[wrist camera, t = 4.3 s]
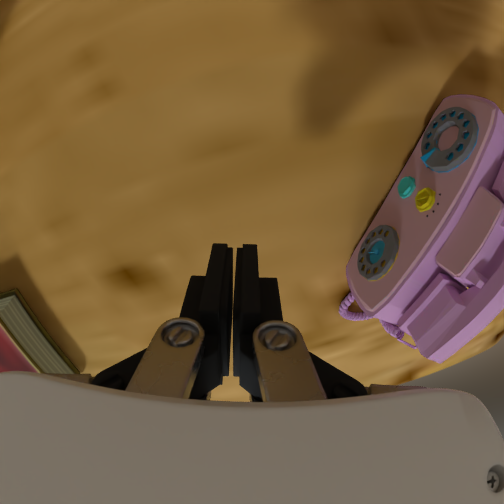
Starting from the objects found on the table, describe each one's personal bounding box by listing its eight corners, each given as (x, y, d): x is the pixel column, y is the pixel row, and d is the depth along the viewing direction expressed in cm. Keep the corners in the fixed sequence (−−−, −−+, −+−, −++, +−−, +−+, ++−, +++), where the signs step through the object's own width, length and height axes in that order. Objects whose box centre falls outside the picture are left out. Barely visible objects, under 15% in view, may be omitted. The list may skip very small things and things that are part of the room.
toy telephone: (434, 84, 13) (562, 105, 4) (487, 140, 15) (591, 188, 6) (305, 302, 21) (337, 425, 12) (368, 323, 22) (412, 425, 14)
